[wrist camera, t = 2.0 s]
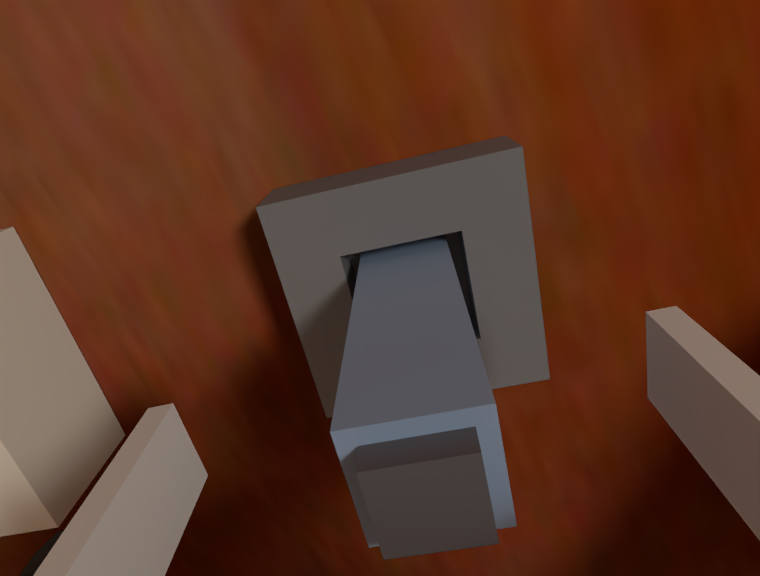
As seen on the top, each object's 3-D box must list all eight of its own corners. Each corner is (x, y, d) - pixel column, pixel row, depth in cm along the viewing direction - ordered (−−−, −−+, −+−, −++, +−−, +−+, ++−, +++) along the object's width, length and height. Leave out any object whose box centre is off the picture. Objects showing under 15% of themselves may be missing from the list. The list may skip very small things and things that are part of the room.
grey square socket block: (505, 135, 21) (522, 146, 18) (532, 343, 25) (549, 378, 22) (273, 189, 22) (255, 207, 19) (333, 380, 26) (326, 418, 23)
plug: (443, 231, 22) (503, 428, 10) (457, 305, 23) (525, 556, 11) (361, 248, 22) (325, 458, 10) (380, 320, 23) (367, 577, 12)
